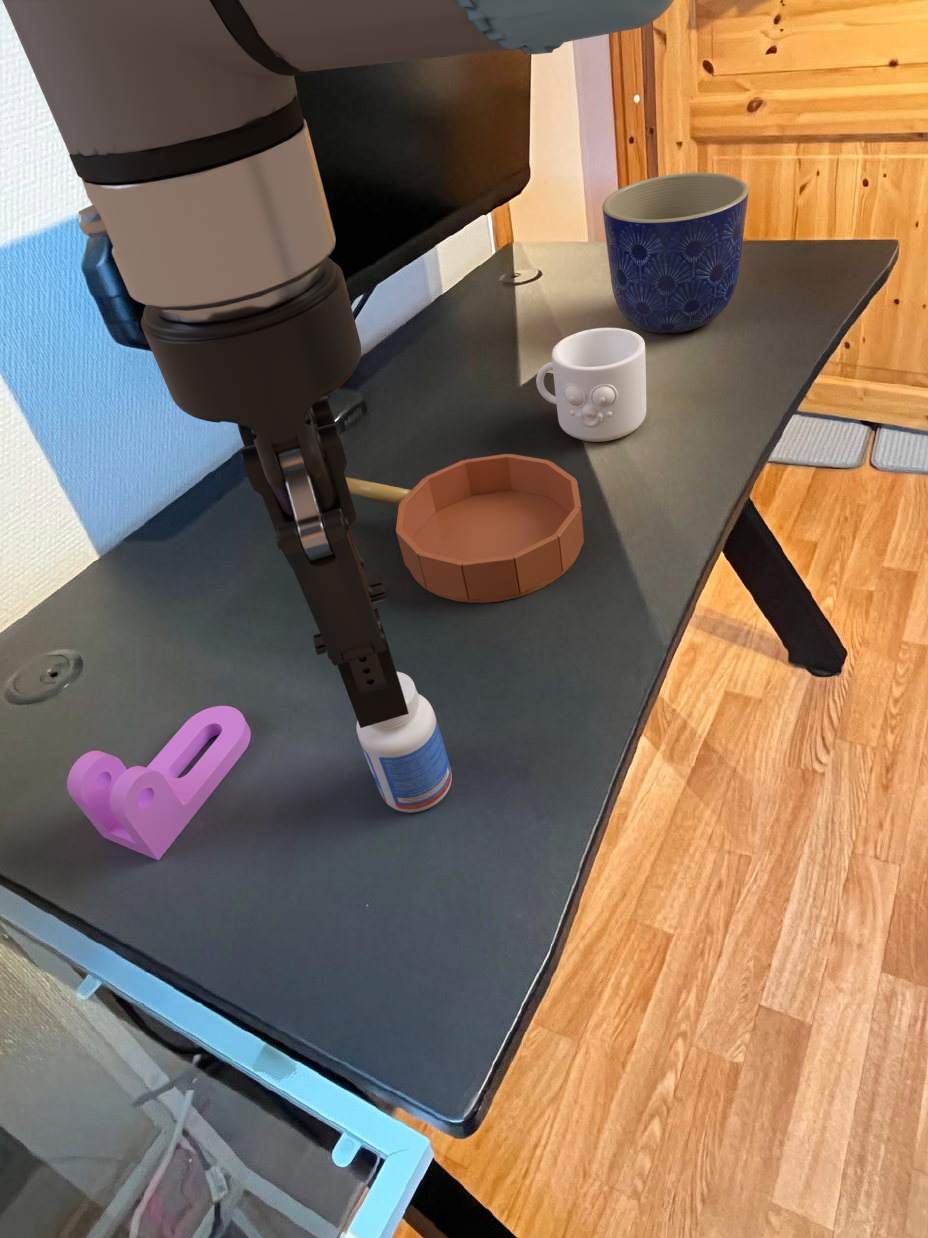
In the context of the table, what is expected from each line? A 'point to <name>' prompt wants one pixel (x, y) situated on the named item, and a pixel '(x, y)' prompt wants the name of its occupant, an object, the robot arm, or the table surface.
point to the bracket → (159, 782)
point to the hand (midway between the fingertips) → (382, 711)
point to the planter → (675, 248)
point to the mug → (598, 383)
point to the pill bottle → (408, 754)
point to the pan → (486, 526)
